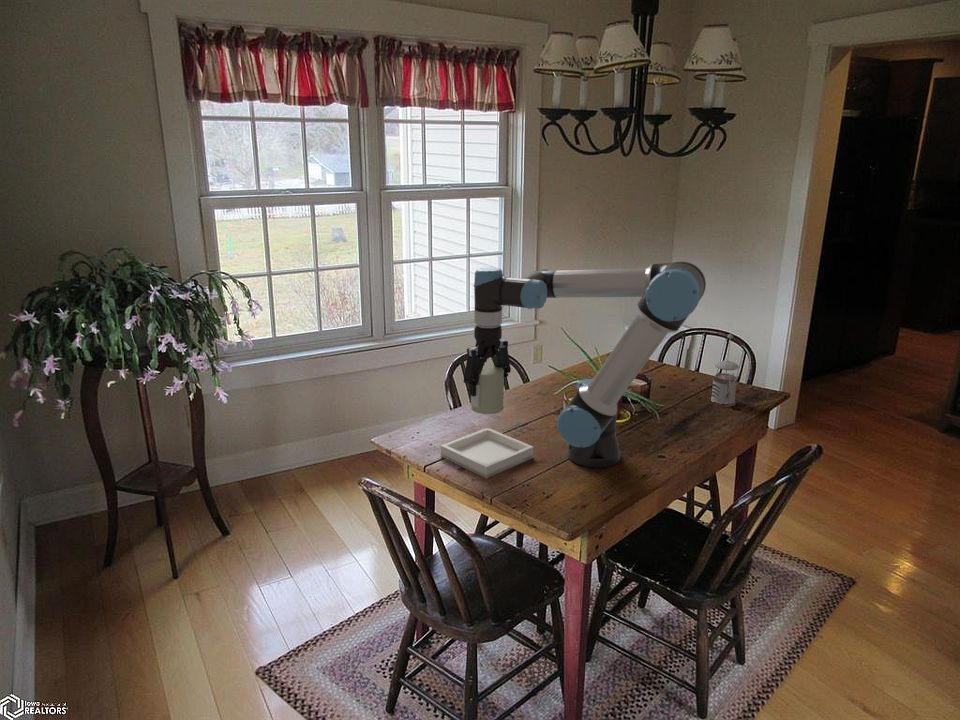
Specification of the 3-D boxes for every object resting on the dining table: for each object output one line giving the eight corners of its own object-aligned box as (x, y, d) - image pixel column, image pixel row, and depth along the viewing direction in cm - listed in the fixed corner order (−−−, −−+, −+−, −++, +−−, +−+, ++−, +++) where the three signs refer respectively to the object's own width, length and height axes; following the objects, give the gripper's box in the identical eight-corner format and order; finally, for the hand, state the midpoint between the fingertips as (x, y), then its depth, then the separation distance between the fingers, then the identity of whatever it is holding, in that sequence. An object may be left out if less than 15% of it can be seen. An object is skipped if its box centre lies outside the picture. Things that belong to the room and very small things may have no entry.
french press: (731, 397, 247) (739, 330, 240) (743, 409, 236) (752, 339, 229) (704, 397, 247) (711, 330, 240) (715, 409, 236) (723, 339, 229)
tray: (533, 457, 199) (533, 446, 198) (486, 478, 187) (486, 467, 186) (487, 438, 212) (487, 427, 211) (440, 456, 200) (440, 445, 199)
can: (480, 400, 201) (480, 361, 197) (509, 405, 197) (509, 366, 193) (465, 410, 193) (465, 370, 190) (494, 416, 189) (495, 375, 185)
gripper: (505, 315, 197) (504, 389, 204) (449, 329, 183) (450, 407, 190) (525, 320, 192) (523, 396, 199) (468, 334, 178) (468, 415, 185)
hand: (487, 401), depth 194 cm, fingers closed on can, 9 cm apart
